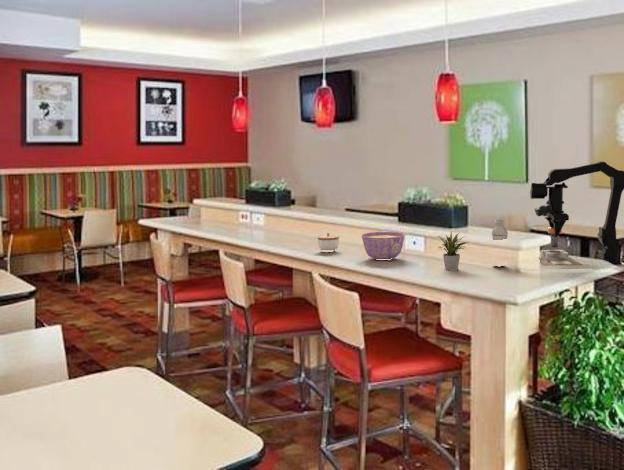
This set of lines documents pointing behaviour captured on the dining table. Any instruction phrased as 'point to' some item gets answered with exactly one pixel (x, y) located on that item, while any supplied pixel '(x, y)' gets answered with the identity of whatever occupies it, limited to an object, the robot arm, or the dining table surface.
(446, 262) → the house plant
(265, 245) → the dining table surface
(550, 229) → the copper knob
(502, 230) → the plastic bottle
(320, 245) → the lidded jar
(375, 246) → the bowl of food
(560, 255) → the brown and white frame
